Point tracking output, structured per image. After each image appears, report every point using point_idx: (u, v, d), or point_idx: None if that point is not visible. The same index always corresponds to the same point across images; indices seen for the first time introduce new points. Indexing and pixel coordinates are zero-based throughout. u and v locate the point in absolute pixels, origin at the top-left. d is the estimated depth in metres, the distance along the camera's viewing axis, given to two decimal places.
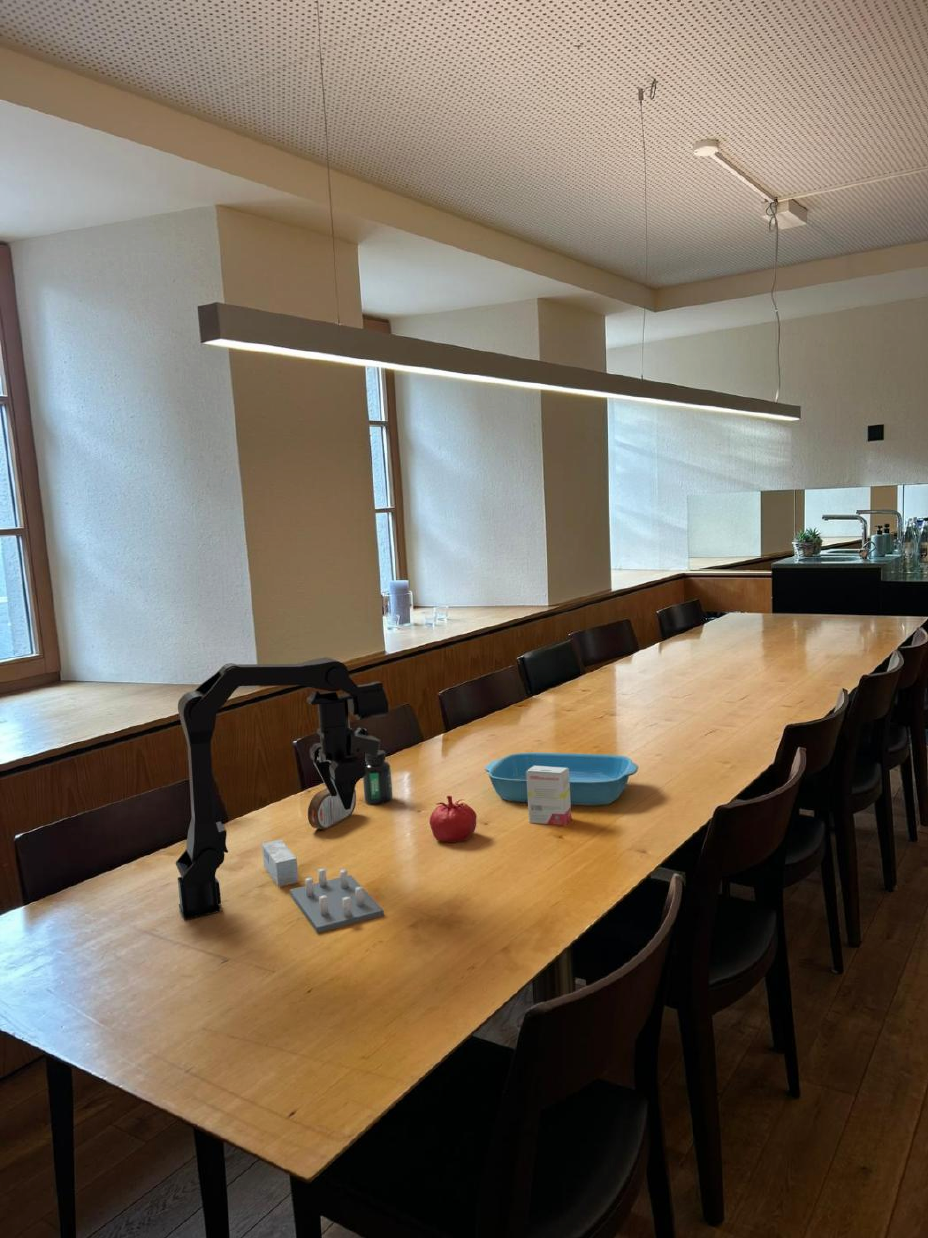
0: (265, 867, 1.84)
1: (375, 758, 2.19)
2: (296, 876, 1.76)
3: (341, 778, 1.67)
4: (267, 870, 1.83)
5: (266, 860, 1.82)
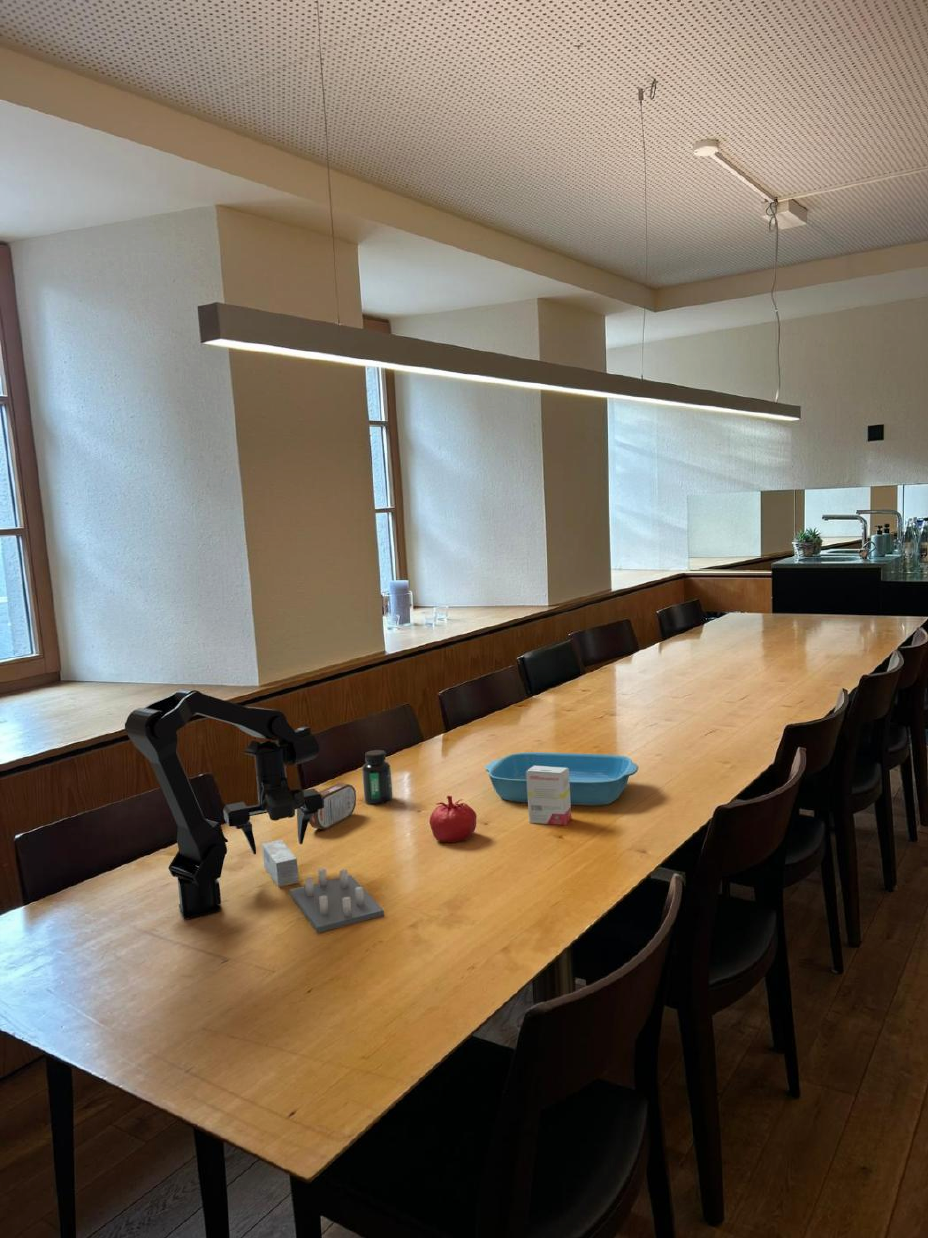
0: (265, 867, 1.84)
1: (375, 758, 2.19)
2: (296, 876, 1.76)
3: (224, 818, 1.77)
4: (267, 870, 1.83)
5: (266, 860, 1.82)
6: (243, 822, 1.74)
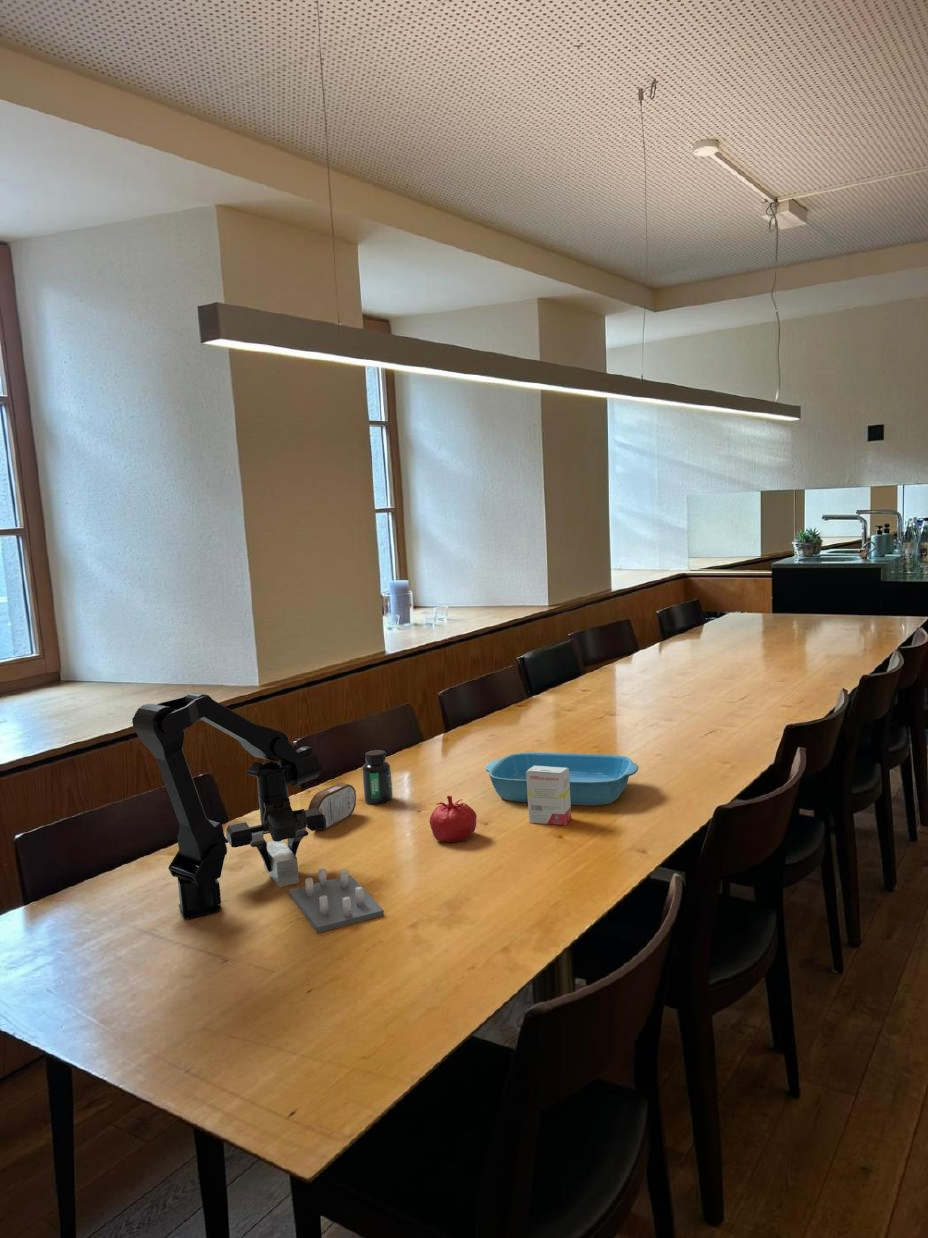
0: (265, 867, 1.84)
1: (375, 758, 2.19)
2: (297, 876, 1.76)
3: (227, 838, 1.78)
4: (267, 870, 1.82)
5: None
6: (245, 843, 1.74)
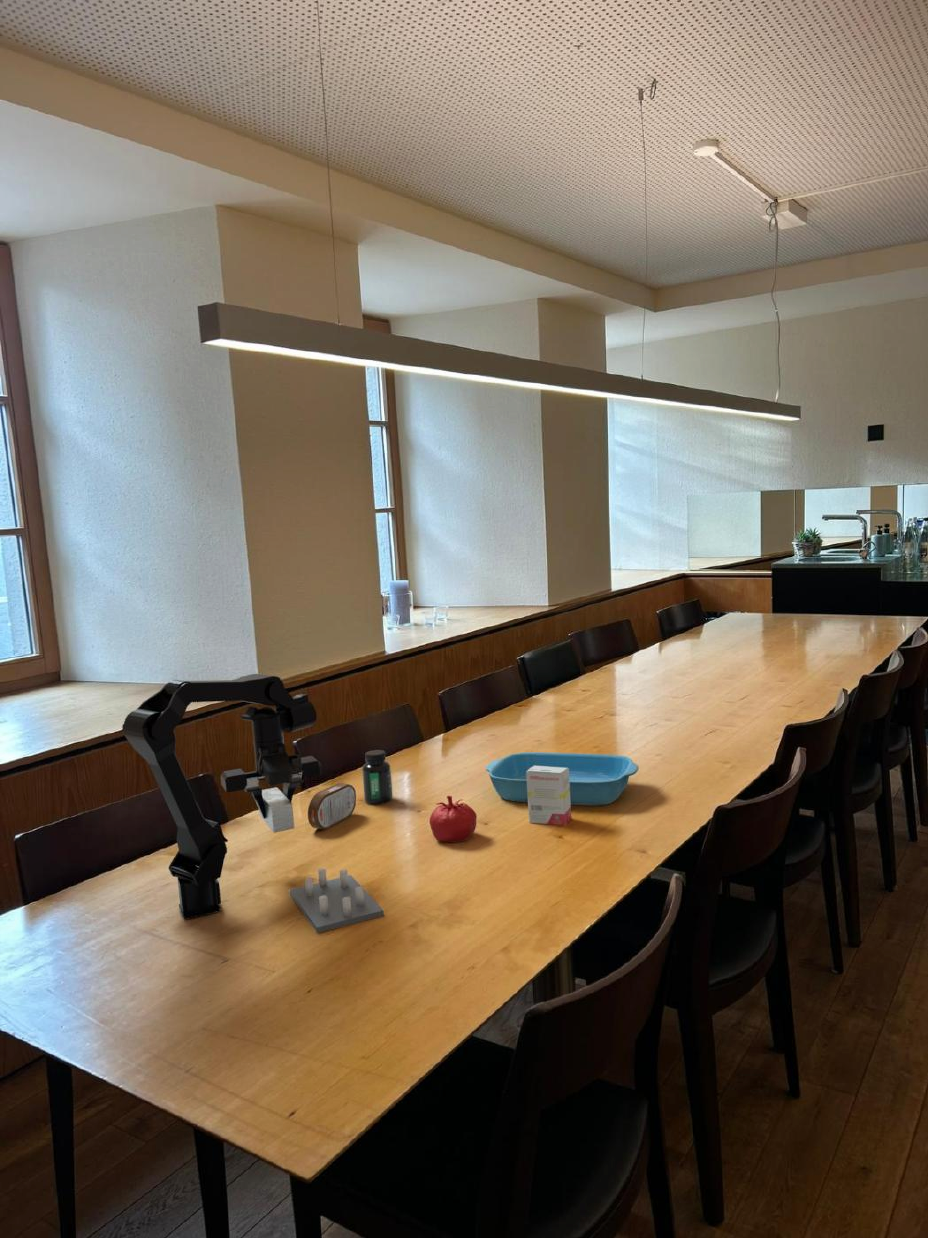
0: (260, 815, 1.83)
1: (375, 758, 2.19)
2: (292, 821, 1.75)
3: (221, 784, 1.77)
4: (262, 817, 1.81)
5: None
6: (240, 788, 1.73)
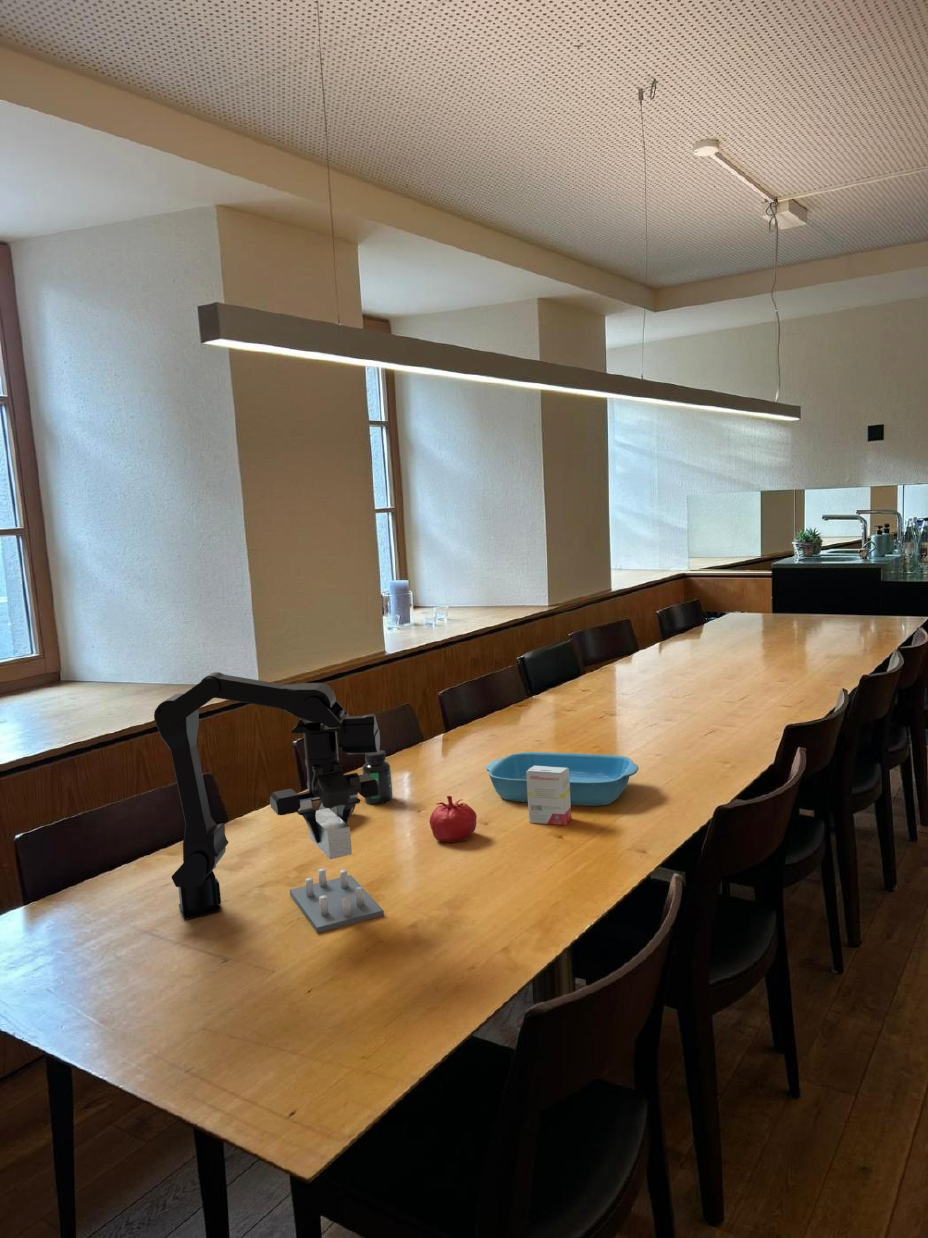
0: (312, 838, 1.67)
1: (375, 758, 2.19)
2: (349, 846, 1.59)
3: (271, 806, 1.61)
4: (315, 841, 1.66)
5: None
6: (293, 810, 1.57)
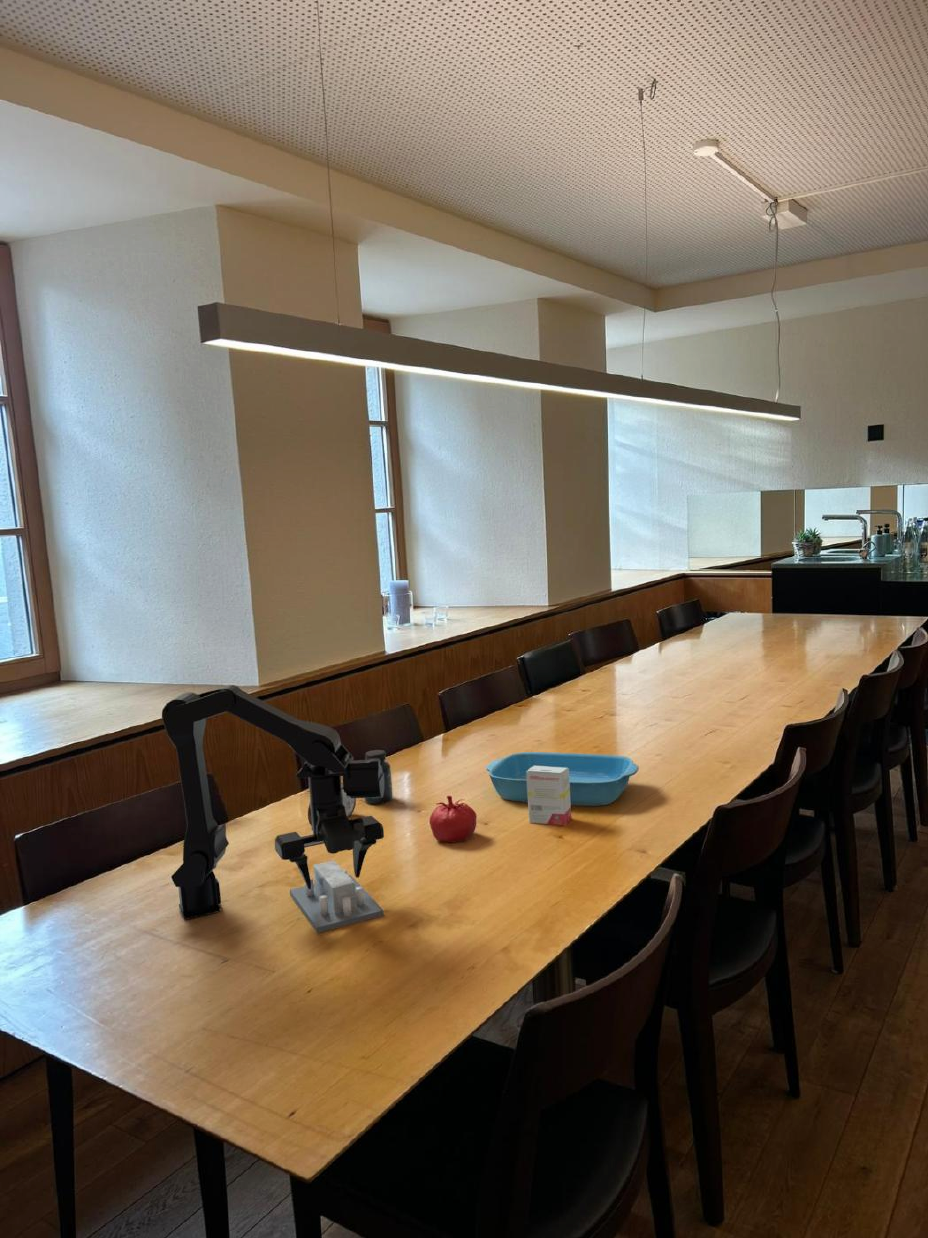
0: (317, 891, 1.68)
1: None
2: (354, 902, 1.60)
3: (275, 850, 1.62)
4: (320, 895, 1.67)
5: (319, 884, 1.66)
6: (297, 855, 1.58)
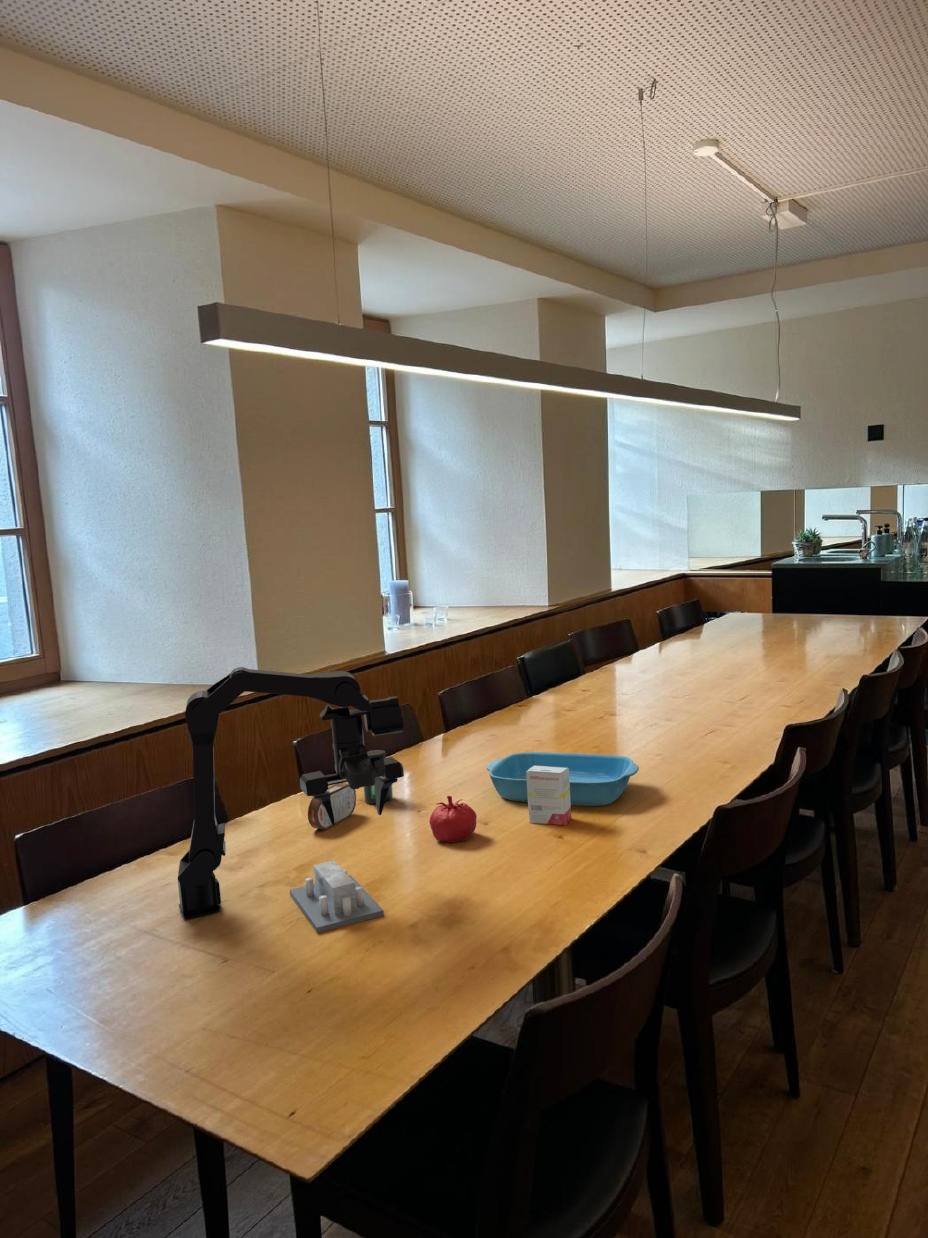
0: (317, 891, 1.68)
1: None
2: (354, 902, 1.60)
3: (301, 788, 1.70)
4: (320, 895, 1.67)
5: (319, 884, 1.66)
6: (321, 791, 1.66)
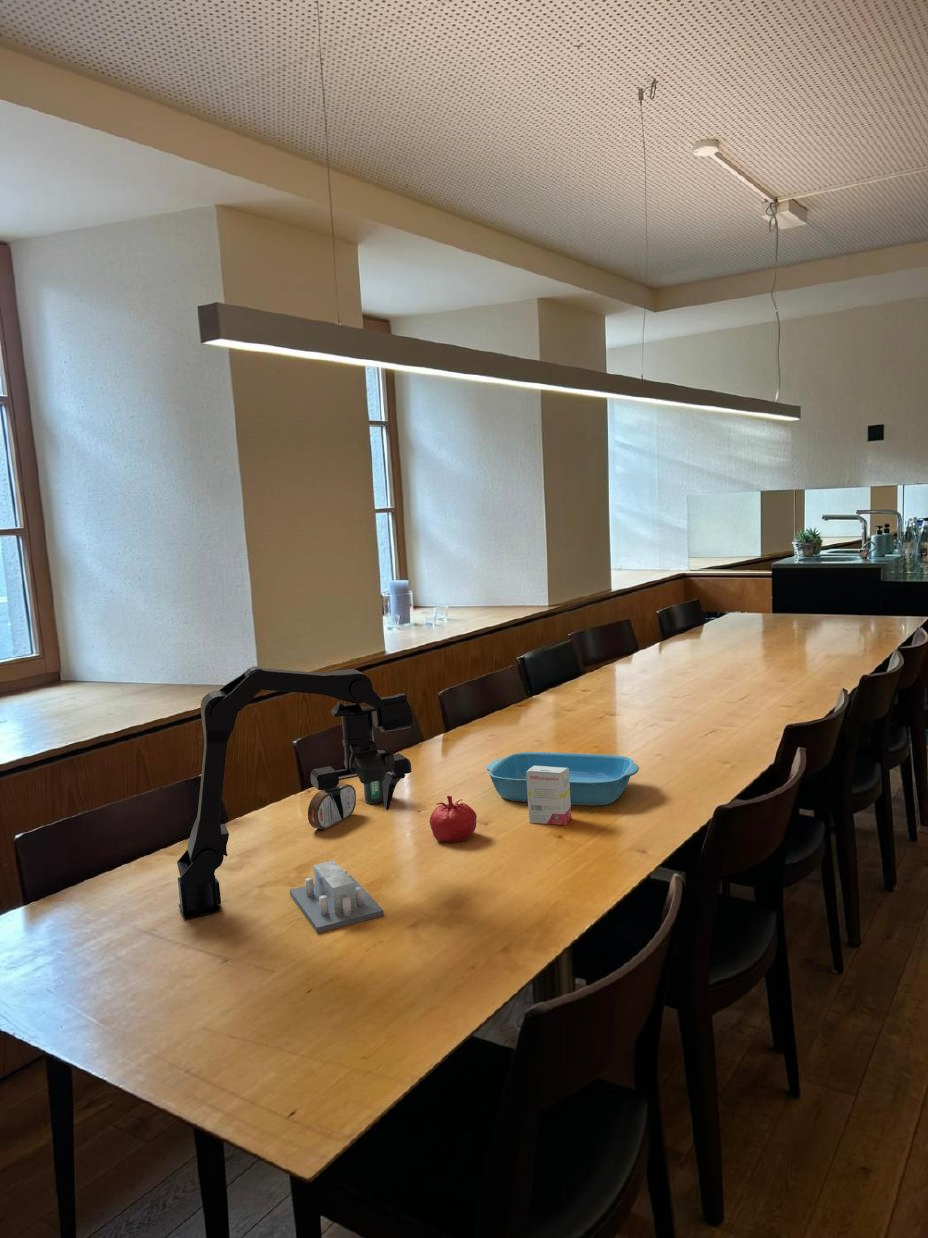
0: (317, 891, 1.68)
1: None
2: (354, 902, 1.60)
3: (311, 782, 1.74)
4: (320, 895, 1.67)
5: (319, 884, 1.66)
6: (332, 786, 1.70)
